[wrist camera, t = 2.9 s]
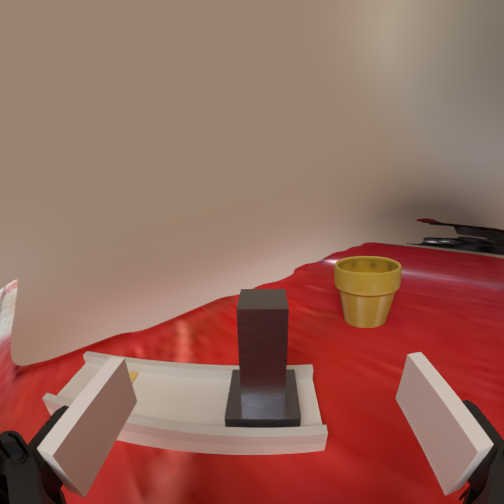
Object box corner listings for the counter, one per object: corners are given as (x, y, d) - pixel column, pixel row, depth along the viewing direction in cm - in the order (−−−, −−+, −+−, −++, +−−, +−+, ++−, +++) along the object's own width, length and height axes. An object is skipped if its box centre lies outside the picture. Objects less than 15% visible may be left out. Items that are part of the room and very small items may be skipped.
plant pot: (357, 345, 37) (362, 277, 35) (321, 318, 46) (322, 260, 44) (408, 326, 39) (415, 265, 38) (369, 306, 49) (372, 253, 47)
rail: (53, 421, 20) (42, 397, 20) (93, 372, 30) (86, 351, 29) (322, 456, 19) (328, 433, 18) (309, 387, 29) (312, 364, 28)
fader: (225, 429, 20) (215, 318, 18) (233, 380, 27) (228, 283, 25) (299, 429, 20) (310, 318, 18) (293, 380, 27) (298, 282, 25)
